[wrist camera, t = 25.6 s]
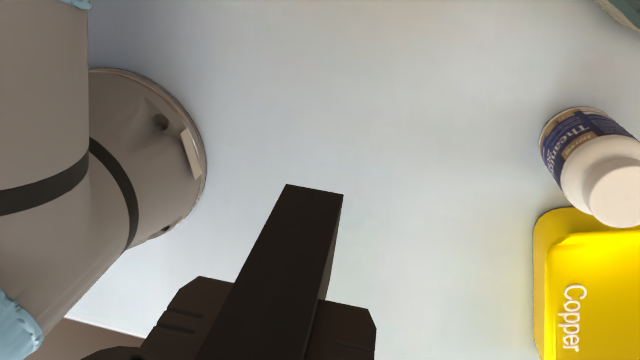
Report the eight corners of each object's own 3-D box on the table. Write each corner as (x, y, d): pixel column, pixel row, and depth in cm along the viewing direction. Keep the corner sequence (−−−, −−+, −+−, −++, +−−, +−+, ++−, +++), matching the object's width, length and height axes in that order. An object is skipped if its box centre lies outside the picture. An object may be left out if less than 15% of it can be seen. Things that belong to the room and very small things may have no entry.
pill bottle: (557, 95, 36) (606, 141, 27) (629, 118, 36) (701, 171, 27) (524, 160, 38) (558, 222, 30) (591, 182, 38) (646, 250, 29)
